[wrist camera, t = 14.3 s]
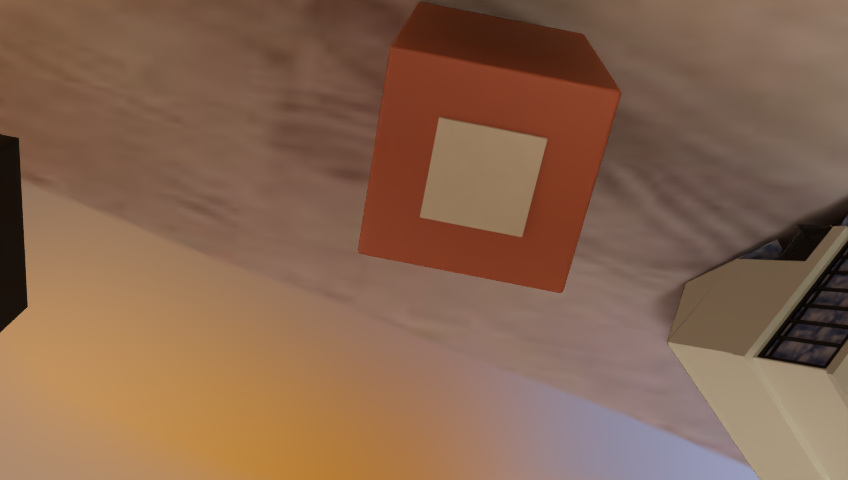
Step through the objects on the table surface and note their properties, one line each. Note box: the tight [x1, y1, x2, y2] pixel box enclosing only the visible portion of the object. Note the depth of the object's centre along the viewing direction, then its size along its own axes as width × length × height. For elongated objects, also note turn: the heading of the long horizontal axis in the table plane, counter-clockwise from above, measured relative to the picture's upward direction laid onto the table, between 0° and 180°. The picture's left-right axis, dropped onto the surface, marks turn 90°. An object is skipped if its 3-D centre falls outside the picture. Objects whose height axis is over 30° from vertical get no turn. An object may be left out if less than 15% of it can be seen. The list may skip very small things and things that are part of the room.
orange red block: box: [358, 2, 621, 293], centre depth 20 cm, size 5×5×7 cm
